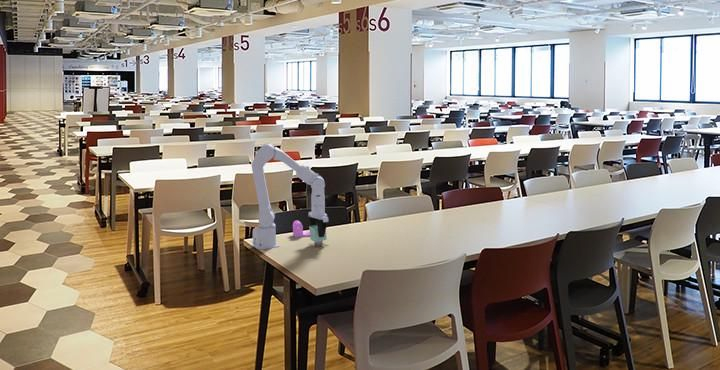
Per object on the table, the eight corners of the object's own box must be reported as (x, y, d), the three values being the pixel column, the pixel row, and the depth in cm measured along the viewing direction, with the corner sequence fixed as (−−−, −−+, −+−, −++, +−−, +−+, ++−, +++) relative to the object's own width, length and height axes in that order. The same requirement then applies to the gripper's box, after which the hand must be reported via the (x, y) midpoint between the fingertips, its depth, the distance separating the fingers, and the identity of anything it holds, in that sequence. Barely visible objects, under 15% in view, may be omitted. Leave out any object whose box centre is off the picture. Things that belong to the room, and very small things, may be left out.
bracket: (294, 238, 287) (294, 223, 286) (293, 235, 292) (292, 220, 291) (323, 236, 290) (322, 221, 289) (320, 233, 296) (320, 219, 294)
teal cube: (315, 242, 269) (314, 228, 268) (310, 239, 273) (309, 226, 272) (326, 239, 272) (325, 226, 270) (321, 237, 276) (319, 224, 275)
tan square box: (315, 248, 269) (315, 238, 268) (308, 244, 274) (308, 235, 273) (328, 246, 272) (328, 236, 271) (321, 243, 277) (321, 233, 277)
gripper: (334, 206, 266) (334, 237, 268) (318, 201, 278) (318, 231, 280) (319, 208, 262) (319, 239, 265) (304, 202, 275) (304, 233, 277)
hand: (318, 235), depth 272 cm, fingers closed on teal cube, 5 cm apart
